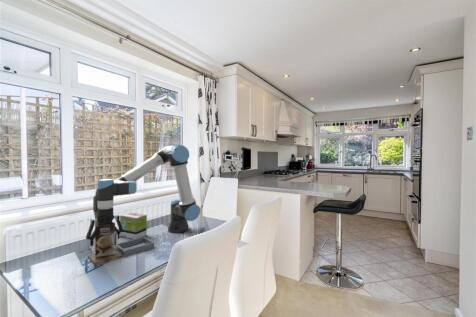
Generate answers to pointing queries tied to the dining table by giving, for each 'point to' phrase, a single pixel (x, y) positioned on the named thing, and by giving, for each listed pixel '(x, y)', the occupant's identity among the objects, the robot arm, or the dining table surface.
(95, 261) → the board
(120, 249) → the bin
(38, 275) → the dining table surface
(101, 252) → the coffee box
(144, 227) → the tea box
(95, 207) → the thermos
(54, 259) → the dining table surface
